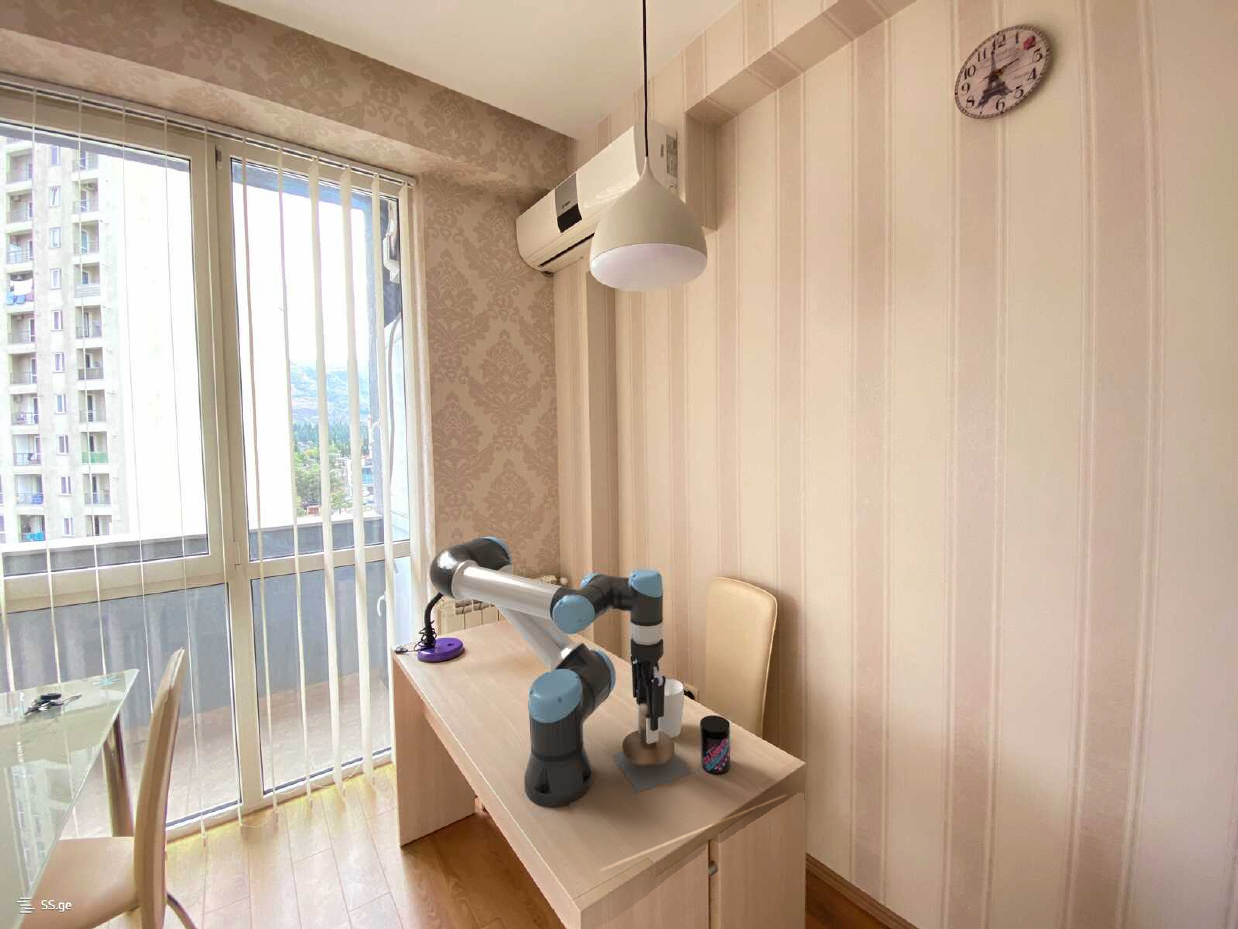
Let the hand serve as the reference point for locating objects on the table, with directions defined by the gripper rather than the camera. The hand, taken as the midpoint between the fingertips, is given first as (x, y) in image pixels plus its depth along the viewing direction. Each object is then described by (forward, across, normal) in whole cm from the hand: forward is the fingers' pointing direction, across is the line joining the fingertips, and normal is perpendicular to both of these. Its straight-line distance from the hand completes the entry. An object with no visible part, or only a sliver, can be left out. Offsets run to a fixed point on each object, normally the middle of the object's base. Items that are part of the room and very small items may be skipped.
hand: (648, 736), depth 118 cm
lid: (+3, 0, 0) cm, 3 cm away
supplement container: (+7, -8, -14) cm, 17 cm away
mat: (+7, 0, 0) cm, 7 cm away
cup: (+7, +10, -10) cm, 16 cm away
